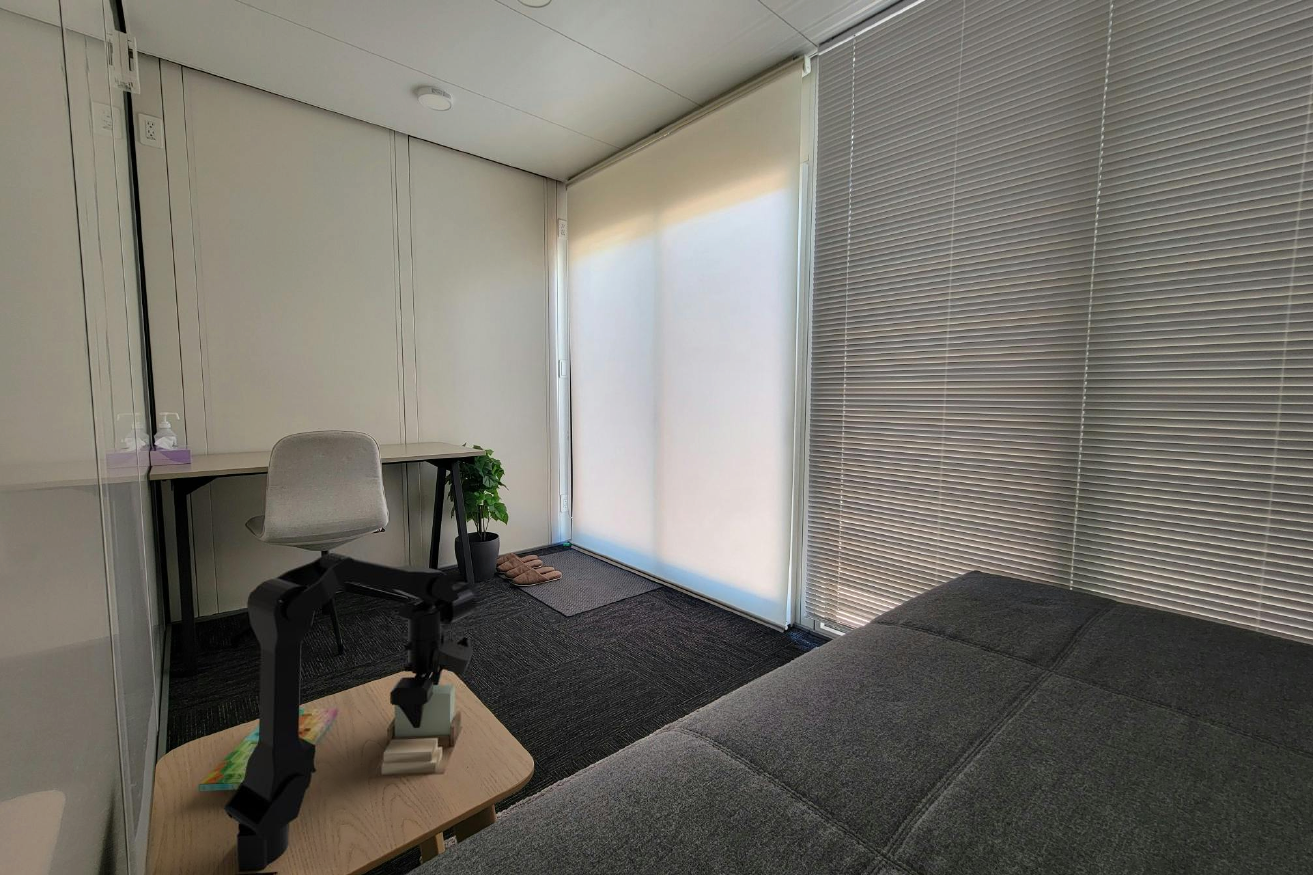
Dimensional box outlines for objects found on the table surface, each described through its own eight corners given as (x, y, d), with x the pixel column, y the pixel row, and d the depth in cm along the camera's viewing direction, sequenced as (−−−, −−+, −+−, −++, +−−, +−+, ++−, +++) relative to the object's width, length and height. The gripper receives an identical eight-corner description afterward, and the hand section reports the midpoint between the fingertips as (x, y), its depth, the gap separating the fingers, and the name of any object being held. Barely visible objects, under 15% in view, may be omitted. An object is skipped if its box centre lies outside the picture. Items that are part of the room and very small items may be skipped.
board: (450, 743, 100) (450, 693, 99) (394, 745, 99) (394, 695, 98) (454, 733, 103) (454, 684, 102) (400, 735, 101) (400, 686, 101)
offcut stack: (435, 771, 92) (435, 752, 92) (381, 774, 91) (381, 755, 91) (442, 756, 96) (442, 737, 96) (390, 758, 95) (390, 739, 95)
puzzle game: (337, 703, 105) (276, 776, 85) (338, 725, 106) (277, 803, 86) (275, 705, 104) (198, 779, 84) (276, 727, 104) (199, 806, 85)
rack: (443, 778, 92) (443, 751, 92) (371, 782, 91) (371, 755, 90) (462, 731, 105) (462, 707, 104) (399, 733, 103) (398, 709, 103)
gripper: (456, 657, 91) (456, 742, 92) (479, 612, 109) (479, 683, 110) (388, 658, 89) (389, 745, 91) (423, 613, 108) (423, 685, 109)
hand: (425, 712), depth 100 cm, fingers open, 9 cm apart
